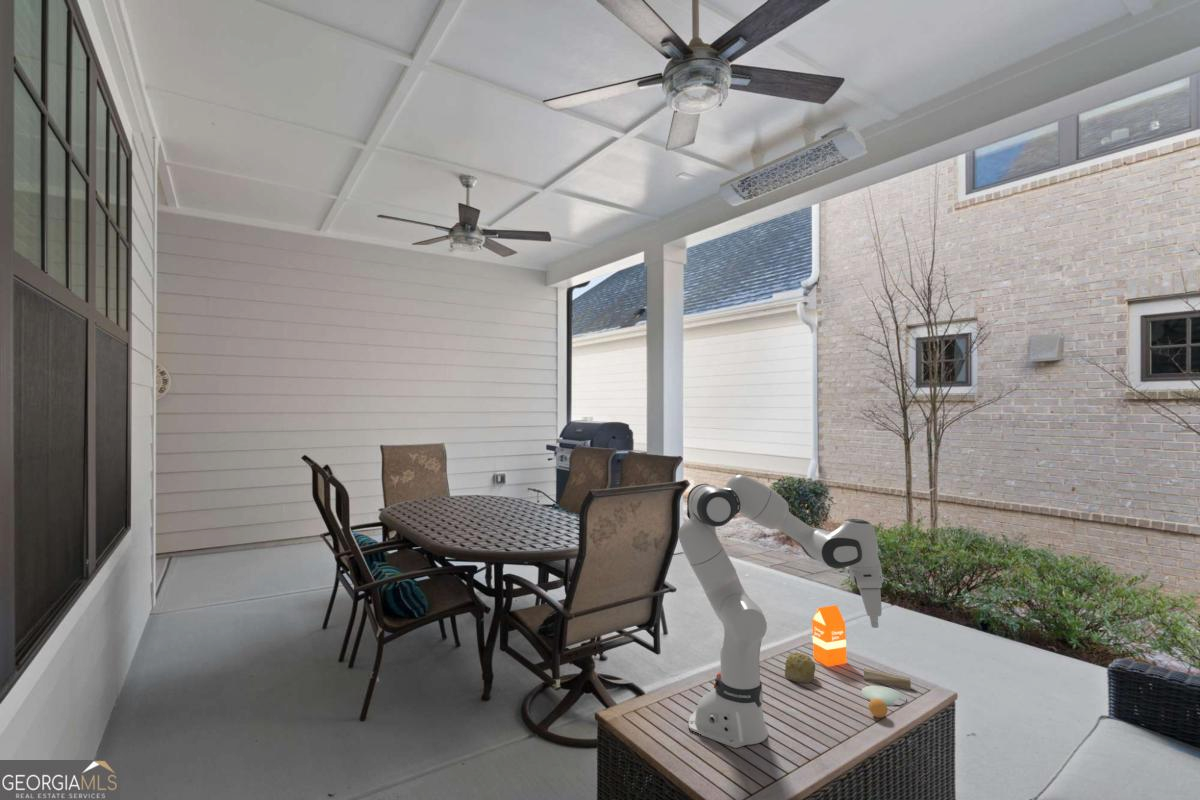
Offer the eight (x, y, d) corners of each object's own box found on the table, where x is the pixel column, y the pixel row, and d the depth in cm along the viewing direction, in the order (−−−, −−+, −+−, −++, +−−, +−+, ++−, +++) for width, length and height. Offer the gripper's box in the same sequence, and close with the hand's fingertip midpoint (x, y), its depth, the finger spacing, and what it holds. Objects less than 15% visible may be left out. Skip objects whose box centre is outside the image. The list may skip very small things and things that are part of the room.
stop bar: (910, 689, 177) (910, 680, 178) (863, 679, 185) (863, 670, 185) (910, 687, 179) (910, 678, 179) (864, 677, 187) (864, 668, 187)
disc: (860, 700, 171) (860, 699, 171) (862, 683, 182) (862, 682, 183) (907, 709, 165) (907, 708, 165) (906, 691, 176) (906, 690, 176)
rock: (800, 680, 193) (785, 652, 197) (825, 672, 186) (809, 644, 190) (788, 692, 186) (772, 663, 190) (814, 684, 180) (798, 655, 183)
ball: (868, 718, 160) (868, 701, 161) (869, 710, 165) (868, 694, 165) (887, 722, 158) (886, 705, 158) (887, 714, 162) (887, 697, 163)
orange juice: (813, 658, 203) (811, 604, 204) (832, 655, 206) (830, 602, 207) (827, 666, 196) (825, 611, 197) (847, 663, 198) (844, 608, 200)
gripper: (850, 564, 170) (857, 608, 169) (857, 584, 151) (865, 634, 150) (872, 563, 168) (879, 608, 167) (882, 584, 148) (890, 634, 148)
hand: (872, 620), depth 158 cm, fingers open, 8 cm apart
